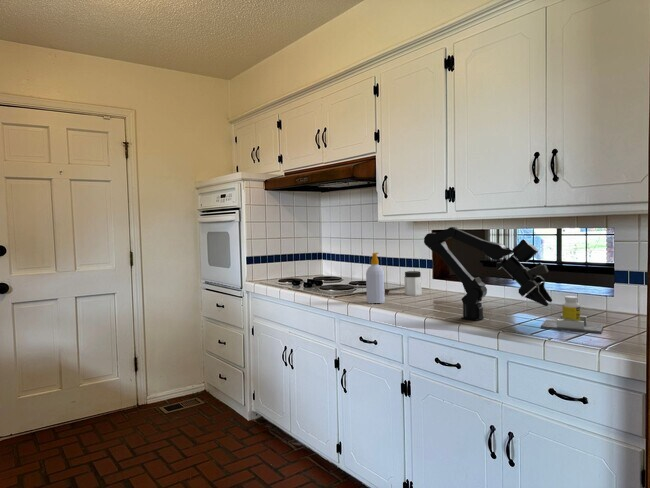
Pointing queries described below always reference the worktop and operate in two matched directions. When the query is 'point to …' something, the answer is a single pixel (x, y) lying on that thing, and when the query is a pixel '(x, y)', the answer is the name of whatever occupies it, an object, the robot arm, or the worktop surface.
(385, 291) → the cup and saucer
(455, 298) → the worktop surface
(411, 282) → the jar
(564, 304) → the supplement bottle
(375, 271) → the soap bottle
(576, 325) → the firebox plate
